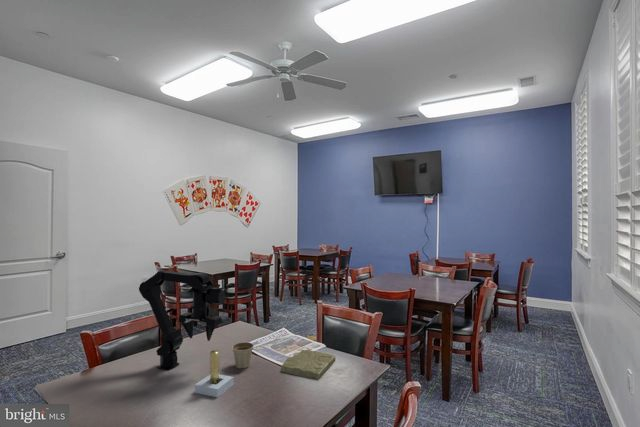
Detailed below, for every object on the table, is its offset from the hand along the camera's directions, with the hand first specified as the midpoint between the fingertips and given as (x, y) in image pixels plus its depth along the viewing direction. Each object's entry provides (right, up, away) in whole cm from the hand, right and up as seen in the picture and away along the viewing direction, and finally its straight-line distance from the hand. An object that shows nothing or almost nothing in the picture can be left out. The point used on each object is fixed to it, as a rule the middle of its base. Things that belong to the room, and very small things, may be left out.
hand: (199, 339), depth 146 cm
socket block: (+11, -13, -16) cm, 23 cm away
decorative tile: (+46, -14, +4) cm, 49 cm away
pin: (+11, -13, -16) cm, 23 cm away
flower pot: (+17, -13, +4) cm, 22 cm away
